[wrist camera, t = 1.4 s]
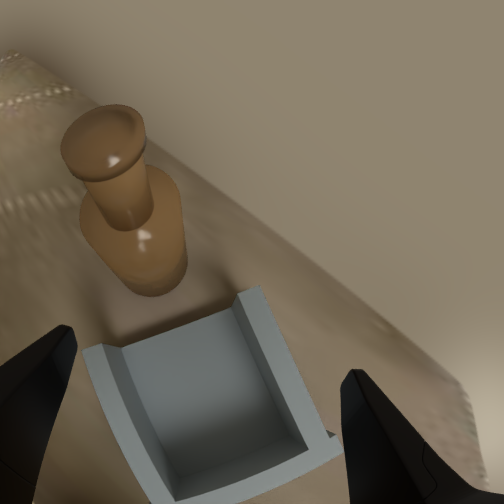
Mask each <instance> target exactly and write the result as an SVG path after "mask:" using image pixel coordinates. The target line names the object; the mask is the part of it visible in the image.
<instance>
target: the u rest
mask: <svg viewBox="0 0 504 504" xmlns="http://www.w3.org/2000/svg"><path fill="white" fill-rule="evenodd" d="M81 351H82V354H83V357H84V360H85V363H86V366H87V369H88V372H89V375H90V378H91V380H92V383H93V386H94V388H95V391H96V394H97V396H98V399H99V401H100V404H101V406H102V409H103V411H104V413H105V416H106V418H107V420H108V423H109V425H110V427H111V429H112V431H113V434H114V436H115V438H116V440H117V442H118V444H119V446H120V448H121V450H122V452H123V454H124V456H125V458H126V460H127V462H128V464H129V466H130V467H131V469H132V471H133V473H134V475H135V477H136V478H137V480H138V482H139V484H140V485H141V487H142V489H143V490H144V492H145V494H146V495H147V497H148V499H149V500H150V502H149V504H236V503H239V502H242V501H244V500H247V499H249V498H252V497H255V496H257V495H260V494H262V493H264V492H267V491H269V490H271V489H274V488H276V487H278V486H280V485H283V484H285V483H287V482H289V481H291V480H293V479H295V478H297V477H299V476H301V475H303V474H305V473H307V472H309V471H311V470H313V469H315V468H317V467H319V466H320V465H322V464H324V463H326V462H328V461H329V460H331V459H333V458H335V457H336V456H338V455H340V454H341V453H343V452H344V450H343V448H342V446H341V444H340V442H339V439H338V437H337V435H336V434H334V433H332V432H329V431H327V430H326V429H325V427H324V425H323V423H322V421H321V419H320V416H319V414H318V412H317V410H316V408H315V406H314V403H313V401H312V399H311V397H310V395H309V393H308V390H307V388H306V386H305V384H304V382H303V379H302V377H301V375H300V373H299V371H298V369H297V366H296V364H295V362H294V360H293V358H292V355H291V353H290V351H289V349H288V347H287V344H286V342H285V340H284V338H283V336H282V334H281V331H280V329H279V327H278V325H277V322H276V320H275V318H274V316H273V314H272V311H271V309H270V307H269V305H268V303H267V300H266V298H265V296H264V294H263V292H262V289H261V287H260V285H258V286H255V287H253V288H250V289H248V290H245V291H243V292H240V293H237V295H236V298H235V300H234V302H233V304H232V306H231V307H230V308H228V309H225V310H223V311H220V312H218V313H215V314H212V315H210V316H207V317H204V318H202V319H199V320H197V321H194V322H191V323H189V324H186V325H183V326H181V327H178V328H175V329H172V330H170V331H167V332H164V333H161V334H159V335H156V336H153V337H150V338H147V339H145V340H142V341H139V342H136V343H133V344H130V345H127V346H125V347H122V348H119V347H115V346H111V345H107V344H103V343H101V344H98V345H95V346H92V347H89V348H86V349H83V350H81Z"/></svg>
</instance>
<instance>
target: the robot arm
mask: <svg viewBox="0 0 504 504" xmlns="http://www.w3.org/2000/svg"><path fill="white" fill-rule="evenodd" d="M77 348H78V345H77V341H76V337H75V334H74V331H73V328H72V327H70V326H67V325H63V324H61V325H59V326H57V327H56V328H54V329H53V330H51V331H50V332H48V333H47V334H46V335H44V336H43V337H41V338H40V339H38V340H37V341H35V342H34V343H32V344H31V345H30V346H28V347H27V348H25V349H24V350H22V351H21V352H20V353H18V354H17V355H15V356H14V357H13V358H11V359H10V360H8V361H7V362H6V363H4V364H3V365H1V366H0V504H32V501H33V497H34V492H35V488H36V487H35V486H36V483H37V479H38V475H39V472H40V468H41V464H42V461H43V457H44V454H45V450H46V447H47V444H48V441H49V437H50V434H51V431H52V428H53V425H54V422H55V419H56V416H57V413H58V411H59V408H60V405H61V402H62V400H63V397H64V394H65V391H66V388H67V385H68V381H69V378H70V374H71V370H72V367H73V363H74V359H75V356H76V353H77ZM340 394H341V427H342V437H343V444H344V452H345V460H346V469H347V478H348V487H349V497H350V504H504V495H503V494H497V493H491V492H486V491H481V490H478V489H476V488H474V487H472V486H471V485H469V484H468V483H467V482H466V481H465V480H464V479H462V478H461V477H460V476H459V475H458V474H457V473H456V472H455V471H454V470H453V469H452V468H451V467H450V466H448V465H447V464H446V463H445V462H444V461H443V460H442V459H441V458H440V457H439V456H438V454H437V453H436V452H435V451H434V450H433V449H432V448H431V447H430V446H429V444H428V443H427V442H426V441H425V440H424V439H423V438H422V436H421V435H420V434H419V433H418V432H417V431H416V429H415V428H414V427H413V426H412V425H411V424H410V423H409V421H408V420H407V419H406V418H405V417H404V416H403V415H402V413H401V412H400V411H399V410H398V409H397V408H396V406H395V405H394V404H393V403H392V402H391V401H390V400H389V398H388V397H387V396H386V395H385V394H384V393H383V392H382V390H381V389H380V388H379V387H378V386H377V385H376V384H375V382H374V381H373V380H372V379H371V378H370V377H369V376H368V374H367V373H366V372H365V371H364V370H362V369H352V370H350V371H349V373H348V374H347V376H346V377H345V379H344V380H343V382H342V384H341V388H340ZM424 441H425V442H424Z"/></svg>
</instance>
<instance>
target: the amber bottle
mask: <svg viewBox="0 0 504 504" xmlns="http://www.w3.org/2000/svg"><path fill="white" fill-rule="evenodd" d="M145 147H146V133H145V127H144V122H143V119H142V117H141V115H140V114H139V113H138V112H137V111H136V110H135V109H133V108H131V107H128V106H125V105H117V104H116V105H106V106H101V107H98V108H95V109H93V110H91V111H89V112H87V113H85V114H83V115H82V116H81V117H79V118H78V119H77V120H76V121H74V122H73V123H72V125H71V126H70V127H69V128H68V129H67V131H66V133H65V134H64V136H63V139H62V142H61V155H62V158H63V160H64V161H65V163H66V165H67V167H68V169H69V170H70V172H71V173H72V175H73V176H75V177H76V178H78V179H80V180H82V181H83V182H84V184H85V186H86V188H87V189H88V191H87V193H86V195H85V197H84V199H83V202H82V205H81V209H80V226H81V230H82V233H83V235H84V237H85V239H86V240H87V242H88V243H89V244H90V246H91V247H92V248H93V249H94V250H95V251H96V253H97V254H98V255H99V256H100V257H101V259H102V260H103V261H104V262H105V263H106V264H107V265H108V267H109V268H110V269H111V270H112V271H113V272H114V273H115V275H116V276H117V277H118V278H119V279H120V280H121V281H122V282H123V283H124V285H125V286H126V287H127V288H128V289H130V290H131V291H132V292H134V293H136V294H138V295H142V296H147V297H155V296H160V295H163V294H166V293H168V292H170V291H171V290H173V289H174V288H175V287H176V286H177V285H178V284H179V283H180V282H181V280H182V279H183V277H184V275H185V272H186V269H187V263H188V257H187V250H186V242H185V234H184V226H183V217H182V208H181V200H180V194H179V190H178V188H177V186H176V184H175V183H174V181H173V180H172V179H171V178H170V176H169V175H167V174H166V173H165V172H163V171H162V170H160V169H158V168H156V167H153V166H150V165H145V162H144V158H143V152H144V150H145Z"/></svg>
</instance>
